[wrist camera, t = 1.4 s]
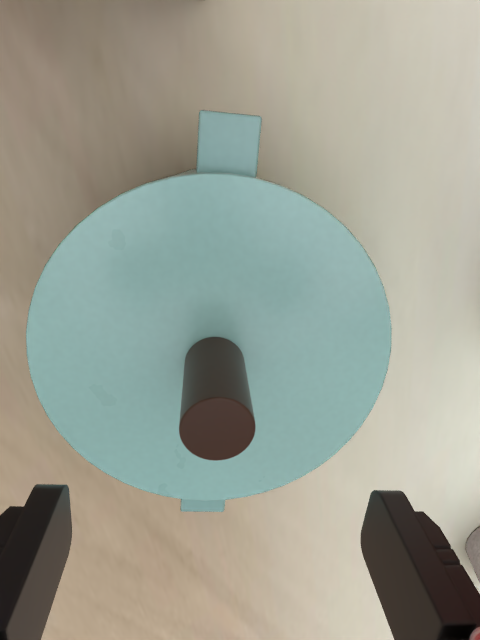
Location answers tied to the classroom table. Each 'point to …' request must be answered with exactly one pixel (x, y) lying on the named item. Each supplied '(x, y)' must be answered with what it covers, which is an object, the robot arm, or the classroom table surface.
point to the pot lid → (208, 336)
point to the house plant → (474, 551)
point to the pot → (224, 157)
